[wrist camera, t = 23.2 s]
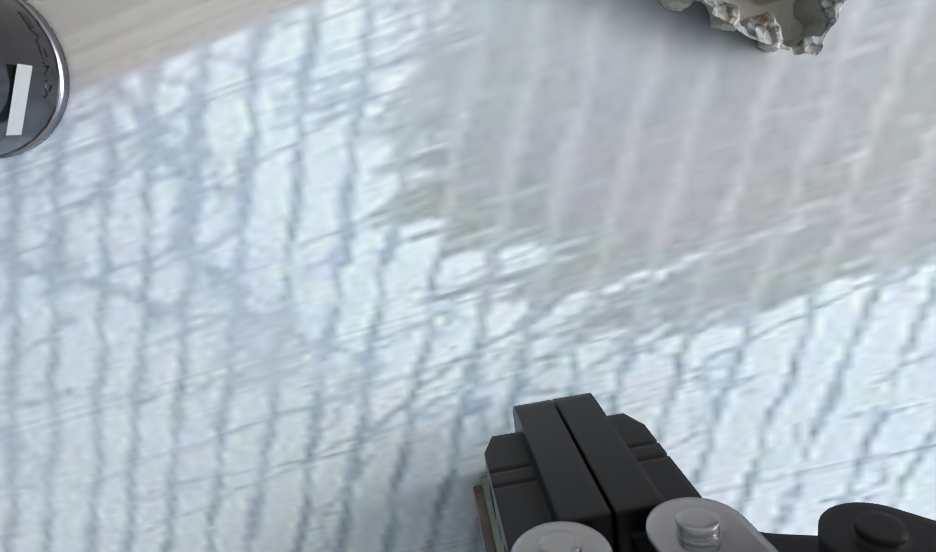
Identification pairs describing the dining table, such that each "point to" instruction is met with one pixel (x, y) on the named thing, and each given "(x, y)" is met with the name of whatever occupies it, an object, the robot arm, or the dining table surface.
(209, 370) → the dining table surface
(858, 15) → the dining table surface
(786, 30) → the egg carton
